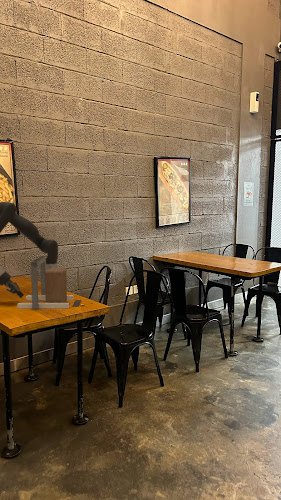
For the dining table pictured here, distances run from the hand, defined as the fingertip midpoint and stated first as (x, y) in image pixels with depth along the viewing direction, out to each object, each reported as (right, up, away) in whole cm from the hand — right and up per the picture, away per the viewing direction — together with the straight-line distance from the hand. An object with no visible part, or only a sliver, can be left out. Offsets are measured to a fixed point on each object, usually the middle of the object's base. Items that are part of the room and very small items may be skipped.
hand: (22, 296), depth 223 cm
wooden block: (+19, -4, +1) cm, 20 cm away
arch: (+10, -4, +1) cm, 11 cm away
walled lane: (+14, -4, +1) cm, 14 cm away
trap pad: (+31, -4, +2) cm, 31 cm away
